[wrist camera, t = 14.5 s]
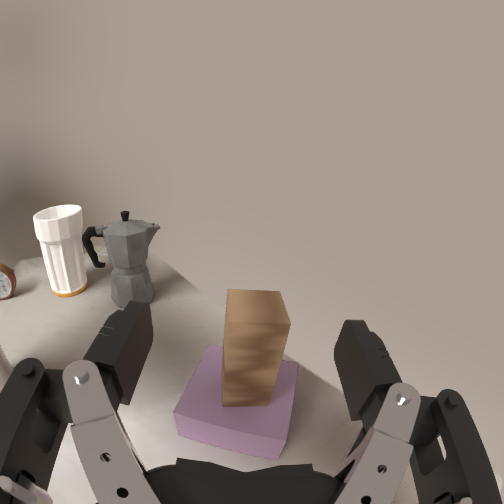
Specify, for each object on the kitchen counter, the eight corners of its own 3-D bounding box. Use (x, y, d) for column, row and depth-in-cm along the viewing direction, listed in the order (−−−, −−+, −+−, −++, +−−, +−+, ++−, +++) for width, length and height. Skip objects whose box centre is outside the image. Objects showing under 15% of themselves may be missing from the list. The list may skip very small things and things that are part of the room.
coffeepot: (160, 282, 59) (157, 202, 52) (167, 305, 51) (163, 215, 44) (94, 289, 52) (82, 208, 45) (92, 314, 45) (74, 223, 38)
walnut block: (222, 406, 26) (229, 321, 21) (221, 373, 30) (227, 288, 26) (268, 406, 27) (290, 323, 22) (262, 373, 31) (279, 291, 26)
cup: (56, 275, 55) (44, 206, 48) (96, 273, 58) (87, 202, 51) (42, 300, 45) (24, 222, 38) (86, 299, 49) (72, 218, 42)
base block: (179, 436, 27) (173, 412, 24) (209, 372, 38) (209, 344, 35) (276, 461, 25) (286, 440, 22) (290, 390, 36) (298, 362, 33)
